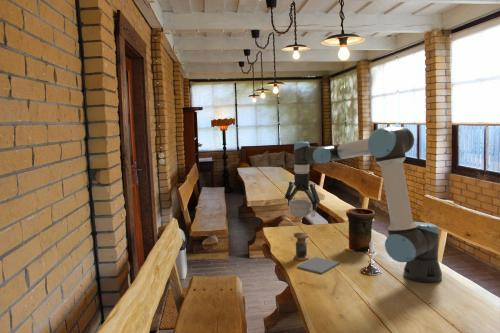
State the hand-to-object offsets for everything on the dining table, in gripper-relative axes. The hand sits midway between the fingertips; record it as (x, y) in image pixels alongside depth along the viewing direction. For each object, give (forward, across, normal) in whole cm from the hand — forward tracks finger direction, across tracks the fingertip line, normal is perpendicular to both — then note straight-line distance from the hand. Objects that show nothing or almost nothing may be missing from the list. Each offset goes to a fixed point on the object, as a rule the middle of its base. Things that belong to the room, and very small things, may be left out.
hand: (301, 214), depth 215 cm
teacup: (+1, -1, 0) cm, 1 cm away
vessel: (+19, -21, -22) cm, 36 cm away
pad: (+19, -18, +13) cm, 29 cm away
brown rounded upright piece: (+19, -6, +9) cm, 22 cm away
